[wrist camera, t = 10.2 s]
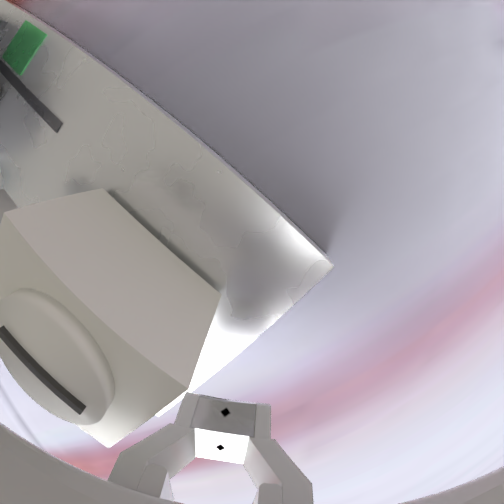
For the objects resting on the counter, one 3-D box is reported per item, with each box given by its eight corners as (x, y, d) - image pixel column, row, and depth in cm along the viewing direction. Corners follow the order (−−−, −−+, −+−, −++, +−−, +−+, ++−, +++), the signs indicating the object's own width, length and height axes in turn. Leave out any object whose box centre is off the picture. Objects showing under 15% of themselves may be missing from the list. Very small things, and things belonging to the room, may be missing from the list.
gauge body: (221, 294, 11) (180, 414, 5) (152, 364, 12) (100, 465, 6) (59, 144, 9) (-56, 150, 4) (18, 234, 10) (-72, 275, 5)
